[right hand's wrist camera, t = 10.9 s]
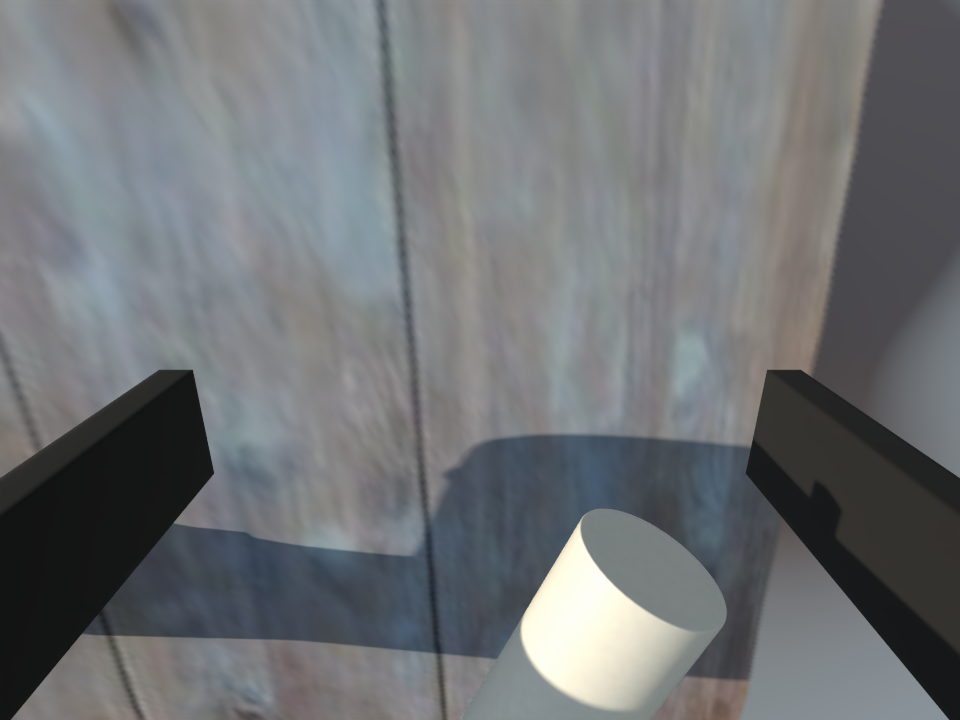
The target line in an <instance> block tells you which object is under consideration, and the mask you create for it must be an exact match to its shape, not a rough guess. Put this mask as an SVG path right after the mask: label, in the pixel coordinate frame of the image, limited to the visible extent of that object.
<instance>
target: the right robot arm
mask: <svg viewBox="0 0 960 720" xmlns="http://www.w3.org/2000/svg"><path fill="white" fill-rule="evenodd" d="M213 474H214V470H213V466H212V461H211V456H210V451H209V446H208V441H207V436H206V432H205V427H204V422H203V417H202V412H201V407H200V403H199V398H198V393H197V388H196V383H195V378H194V374H193V370H158V371H157V372H155V373H154V374H153V375H151V376H150V377H148V378H147V379H145V380H144V381H142V382H141V383H139V384H138V385H136V386H135V387H133V388H132V389H130V390H129V391H128V392H126V393H125V394H123V395H122V396H120V397H119V398H117V399H116V400H114V401H113V402H111V403H110V404H108V405H107V406H106V407H104V408H103V409H101V410H100V411H98V412H97V413H95V414H94V415H92V416H91V417H89V418H88V419H86V420H85V421H83V422H82V423H81V424H79V425H78V426H76V427H75V428H73V429H72V430H70V431H69V432H67V433H66V434H64V435H63V436H61V437H60V438H59V439H57V440H56V441H54V442H53V443H51V444H50V445H48V446H47V447H45V448H44V449H42V450H41V451H39V452H38V453H37V454H35V455H34V456H32V457H31V458H29V459H28V460H26V461H25V462H23V463H22V464H20V465H19V466H17V467H16V468H14V469H13V470H12V471H10V472H9V473H7V474H6V475H4V476H3V477H1V478H0V720H11V719H12V718H13V716H14V715H15V714H16V713H17V711H18V710H19V709H20V708H21V707H22V705H23V704H24V703H25V702H26V701H27V699H28V698H29V697H30V696H31V695H32V693H33V692H34V691H35V690H36V688H37V687H38V686H39V685H40V684H41V682H42V681H43V680H44V679H45V678H46V676H47V675H48V674H49V673H50V672H51V670H52V669H53V668H54V667H55V665H56V664H57V663H58V662H59V661H60V659H61V658H62V657H63V656H64V655H65V653H66V652H67V651H68V650H69V649H70V647H71V646H72V645H73V644H74V642H75V641H76V640H77V639H78V638H79V636H80V635H81V634H82V633H83V632H84V630H85V629H86V628H87V627H88V626H89V624H90V623H91V622H92V621H93V619H94V618H95V617H96V616H97V615H98V613H99V612H100V611H101V610H102V609H103V607H104V606H105V605H106V604H107V603H108V601H109V600H110V599H111V598H112V596H113V595H114V594H115V593H116V592H117V590H118V589H119V588H120V587H121V586H122V584H123V583H124V582H125V581H126V579H127V578H128V577H129V576H130V575H131V573H132V572H133V571H134V570H135V569H136V567H137V566H138V565H139V564H140V563H141V561H142V560H143V559H144V558H145V556H146V555H147V554H148V553H149V552H150V550H151V549H152V548H153V547H154V546H155V544H156V543H157V542H158V541H159V540H160V538H161V537H162V536H163V535H164V533H165V532H166V531H167V530H168V529H169V527H170V526H171V525H172V524H173V523H174V521H175V520H176V519H177V518H178V517H179V515H180V514H181V513H182V512H183V510H184V509H185V508H186V507H187V506H188V504H189V503H190V502H191V501H192V500H193V498H194V497H195V496H196V495H197V494H198V492H199V491H200V490H201V489H202V487H203V486H204V485H205V484H206V483H207V481H208V480H209V479H210V478H211V477H212V475H213ZM746 474H747V475H748V477H749V478H750V479H751V480H752V481H753V483H754V484H755V485H756V486H757V487H758V489H759V490H760V491H761V492H762V494H763V495H764V496H765V497H766V498H767V500H768V501H769V502H770V503H771V504H772V506H773V507H774V508H775V509H776V510H777V512H778V513H779V514H780V515H781V517H782V518H783V519H784V520H785V521H786V523H787V524H788V525H789V526H790V527H791V529H792V530H793V531H794V532H795V533H796V535H797V536H798V537H799V538H800V540H801V541H802V542H803V543H804V544H805V546H806V547H807V548H808V549H809V550H810V552H811V553H812V554H813V555H814V556H815V558H816V559H817V560H818V561H819V563H820V564H821V565H822V566H823V567H824V569H825V570H826V571H827V572H828V573H829V575H830V576H831V577H832V578H833V579H834V581H835V582H836V583H837V584H838V586H839V587H840V588H841V589H842V590H843V592H844V593H845V594H846V595H847V596H848V598H849V599H850V600H851V601H852V602H853V604H854V605H855V606H856V607H857V609H858V610H859V611H860V612H861V613H862V615H863V616H864V617H865V618H866V619H867V621H868V622H869V623H870V624H871V626H872V627H873V628H874V629H875V630H876V631H877V633H878V634H879V635H880V636H881V638H882V639H883V640H884V641H885V642H886V644H887V645H888V646H889V647H890V648H891V650H892V651H893V652H894V653H895V655H896V656H897V657H898V658H899V659H900V661H901V662H902V663H903V664H904V665H905V667H906V668H907V669H908V670H909V672H910V673H911V674H912V675H913V676H914V678H915V679H916V680H917V681H918V682H919V684H920V685H921V686H922V687H923V688H924V690H925V691H926V692H927V693H928V695H929V696H930V697H931V698H932V699H933V701H934V702H935V703H936V704H937V705H938V707H939V708H940V709H941V710H942V711H943V713H944V714H945V715H946V716H947V718H948V719H949V720H960V478H959V477H957V476H956V475H954V474H953V473H951V472H950V471H948V470H947V469H946V468H944V467H943V466H941V465H940V464H938V463H937V462H935V461H934V460H932V459H931V458H929V457H928V456H926V455H925V454H923V453H922V452H921V451H919V450H918V449H916V448H915V447H913V446H912V445H910V444H909V443H907V442H906V441H904V440H903V439H901V438H900V437H898V436H897V435H896V434H894V433H893V432H891V431H890V430H888V429H887V428H885V427H884V426H882V425H881V424H879V423H878V422H877V421H875V420H874V419H872V418H871V417H869V416H868V415H866V414H865V413H863V412H862V411H860V410H859V409H857V408H856V407H854V406H853V405H852V404H850V403H849V402H847V401H846V400H844V399H843V398H841V397H840V396H838V395H837V394H835V393H834V392H832V391H831V390H830V389H828V388H827V387H825V386H824V385H822V384H821V383H819V382H818V381H816V380H815V379H813V378H812V377H810V376H809V375H807V374H806V373H805V372H803V371H802V370H767V374H766V378H765V383H764V388H763V393H762V398H761V403H760V407H759V412H758V417H757V422H756V427H755V432H754V436H753V441H752V446H751V451H750V456H749V461H748V466H747V470H746Z"/></svg>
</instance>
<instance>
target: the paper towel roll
mask: <svg viewBox="0 0 960 720" xmlns="http://www.w3.org/2000/svg"><path fill="white" fill-rule="evenodd" d="M726 617H727V608H726V603H725V600H724V598H723V595H722V593H721V591H720V589H719V587H718V586H717V584H716V582H715V581H714V579H713V578H712V577H711V575H710V574H709V572H708V571H707V570H706V569H705V568H704V566H703V565H702V564H701V563H700V562H699V561H698V560H697V559H696V558H695V557H694V556H693V555H692V554H691V553H690V552H689V551H688V550H687V549H686V548H684V547H683V546H682V545H681V544H680V543H678V542H677V541H676V540H675V539H673V538H672V537H671V536H669V535H668V534H666V533H665V532H663V531H662V530H660V529H659V528H657V527H655V526H654V525H652V524H650V523H648V522H646V521H644V520H642V519H640V518H638V517H636V516H633V515H631V514H628V513H625V512H622V511H618V510H613V509H603V508H602V509H595V510H591V511H589V512H588V513H586V514H585V515H584V516H583V517H582V519H581V520H580V522H579V524H578V525H577V527H576V529H575V530H574V532H573V534H572V535H571V537H570V539H569V540H568V542H567V544H566V545H565V547H564V549H563V550H562V552H561V554H560V555H559V557H558V559H557V560H556V562H555V563H554V565H553V567H552V568H551V570H550V572H549V573H548V575H547V577H546V578H545V580H544V582H543V583H542V585H541V587H540V588H539V590H538V592H537V593H536V595H535V597H534V598H533V600H532V602H531V603H530V605H529V607H528V608H527V610H526V612H525V613H524V615H523V617H522V618H521V620H520V622H519V623H518V625H517V627H516V628H515V630H514V632H513V633H512V635H511V636H510V638H509V640H508V641H507V643H506V645H505V646H504V648H503V650H502V651H501V653H500V655H499V656H498V658H497V660H496V661H495V663H494V665H493V666H492V668H491V670H490V671H489V673H488V675H487V676H486V678H485V680H484V681H483V683H482V685H481V686H480V688H479V690H478V691H477V693H476V695H475V696H474V698H473V700H472V701H471V703H470V705H469V706H468V708H467V709H466V711H465V713H464V714H463V716H462V718H461V719H460V720H651V718H652V717H653V716H654V714H655V713H656V712H657V711H658V709H659V708H660V707H661V705H662V704H663V703H664V702H665V700H666V699H667V698H668V696H669V695H670V694H671V693H672V691H673V690H674V689H675V687H676V686H677V685H678V684H679V682H680V681H681V680H682V678H683V677H684V676H685V675H686V673H687V672H688V671H689V669H690V668H691V667H692V666H693V664H694V663H695V662H696V660H697V659H698V658H699V657H700V655H701V654H702V653H703V651H704V650H705V649H706V648H707V646H708V645H709V644H710V642H711V641H712V640H713V639H714V637H715V636H716V635H717V633H718V632H719V631H720V630H721V628H722V627H723V625H724V624H725V622H726Z"/></svg>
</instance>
